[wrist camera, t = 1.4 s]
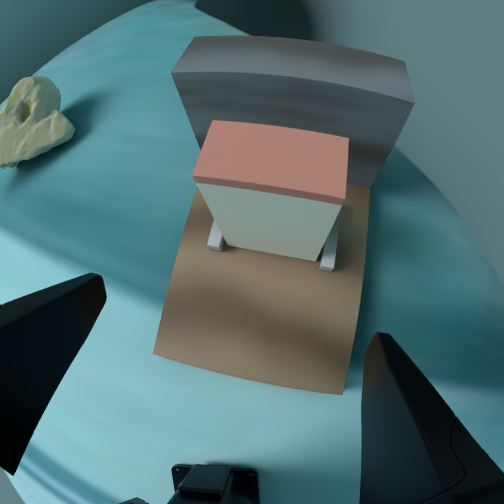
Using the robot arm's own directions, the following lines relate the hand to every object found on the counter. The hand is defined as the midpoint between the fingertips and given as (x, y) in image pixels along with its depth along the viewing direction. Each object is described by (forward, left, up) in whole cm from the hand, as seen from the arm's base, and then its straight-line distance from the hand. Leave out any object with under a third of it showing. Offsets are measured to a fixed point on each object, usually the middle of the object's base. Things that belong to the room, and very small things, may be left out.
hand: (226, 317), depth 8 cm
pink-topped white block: (+6, -2, -11) cm, 13 cm away
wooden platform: (+6, -2, -12) cm, 14 cm away
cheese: (+20, +28, -13) cm, 37 cm away
